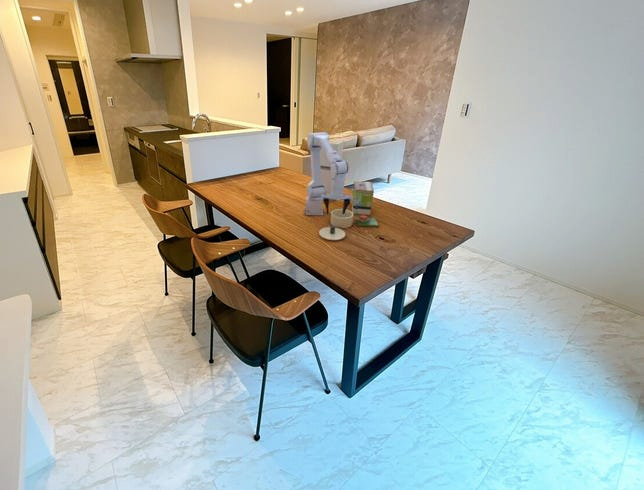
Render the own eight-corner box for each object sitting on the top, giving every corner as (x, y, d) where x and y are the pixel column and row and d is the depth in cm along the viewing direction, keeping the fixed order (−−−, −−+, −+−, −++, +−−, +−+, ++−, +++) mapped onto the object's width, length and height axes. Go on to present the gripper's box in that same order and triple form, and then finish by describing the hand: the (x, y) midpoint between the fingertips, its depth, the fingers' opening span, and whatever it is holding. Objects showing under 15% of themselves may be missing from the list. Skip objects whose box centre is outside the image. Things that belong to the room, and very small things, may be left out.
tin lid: (323, 242, 137) (324, 234, 135) (315, 230, 148) (316, 222, 146) (349, 240, 139) (350, 231, 137) (339, 227, 150) (340, 220, 148)
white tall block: (333, 201, 182) (338, 143, 168) (317, 198, 187) (320, 142, 172) (338, 195, 191) (343, 140, 177) (323, 192, 196) (326, 138, 181)
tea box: (370, 215, 163) (374, 190, 157) (352, 214, 165) (354, 189, 159) (368, 204, 176) (371, 181, 170) (351, 203, 178) (353, 180, 172)
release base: (357, 226, 151) (358, 221, 150) (355, 219, 158) (356, 214, 157) (378, 227, 150) (379, 222, 149) (374, 220, 158) (375, 215, 156)
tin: (334, 228, 149) (335, 219, 147) (327, 219, 160) (327, 209, 157) (356, 226, 151) (357, 217, 149) (347, 217, 161) (348, 208, 159)
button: (360, 220, 152) (360, 217, 151) (359, 217, 155) (359, 214, 154) (367, 220, 152) (367, 217, 151) (365, 217, 155) (366, 215, 154)
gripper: (322, 189, 136) (320, 216, 141) (354, 190, 134) (351, 217, 140) (321, 184, 142) (320, 210, 148) (352, 185, 141) (349, 211, 146)
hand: (335, 213), depth 144 cm, fingers open, 7 cm apart
